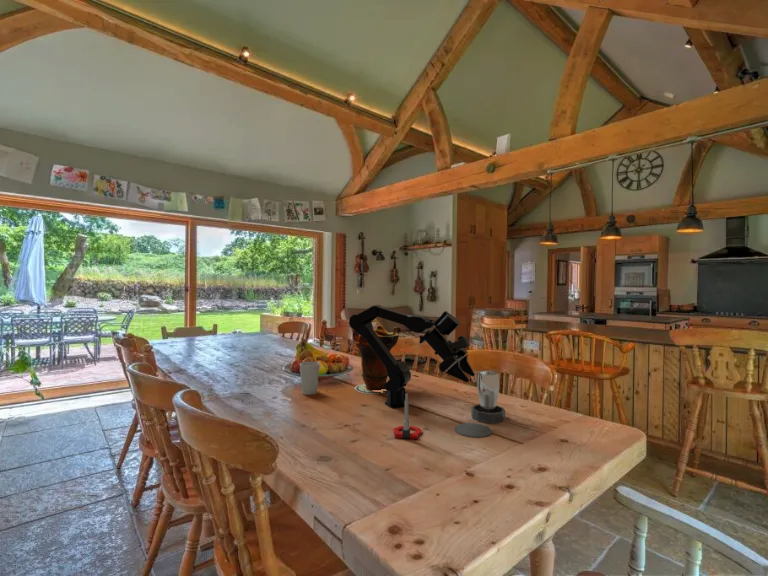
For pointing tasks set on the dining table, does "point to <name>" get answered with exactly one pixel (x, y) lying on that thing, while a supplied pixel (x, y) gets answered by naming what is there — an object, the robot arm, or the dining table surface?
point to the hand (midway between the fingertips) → (471, 378)
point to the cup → (309, 377)
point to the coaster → (473, 430)
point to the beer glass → (488, 391)
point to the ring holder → (488, 415)
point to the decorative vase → (374, 360)
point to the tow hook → (407, 425)
